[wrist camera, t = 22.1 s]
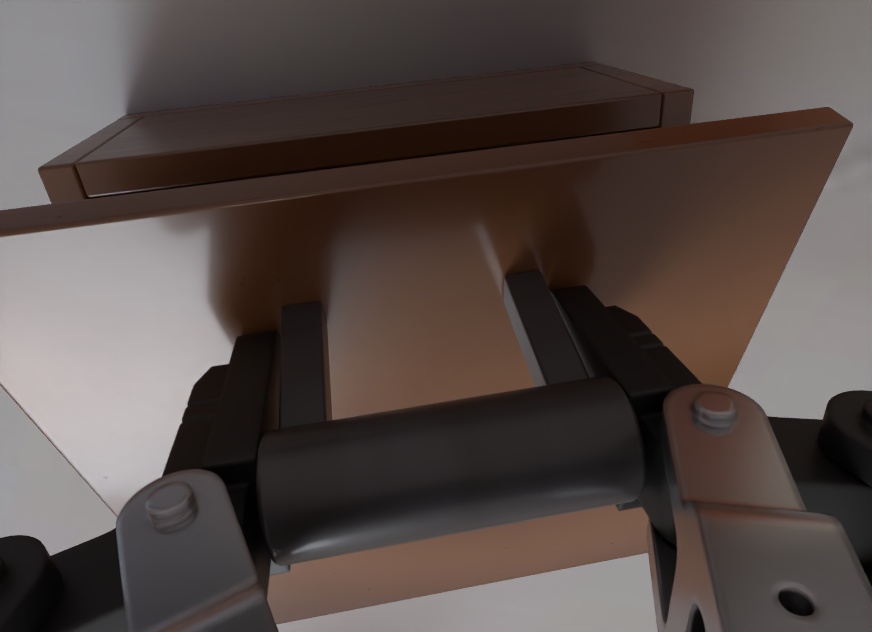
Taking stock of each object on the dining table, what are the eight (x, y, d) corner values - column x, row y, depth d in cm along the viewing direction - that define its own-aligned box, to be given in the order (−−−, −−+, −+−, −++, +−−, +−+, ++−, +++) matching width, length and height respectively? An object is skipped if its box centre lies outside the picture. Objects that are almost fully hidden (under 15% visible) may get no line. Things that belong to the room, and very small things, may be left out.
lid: (-100, 220, 9) (-370, 547, 5) (829, 104, 10) (1120, 300, 7) (222, 614, 20) (206, 801, 17) (640, 534, 22) (709, 692, 18)
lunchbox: (123, 114, 18) (34, 167, 13) (594, 61, 20) (695, 88, 14) (246, 482, 26) (223, 614, 20) (578, 426, 27) (639, 534, 22)
